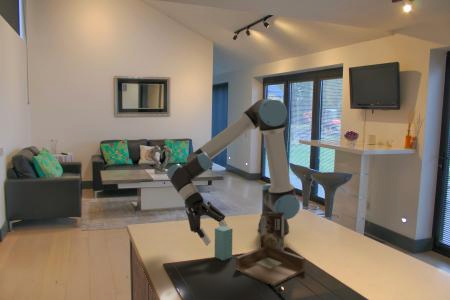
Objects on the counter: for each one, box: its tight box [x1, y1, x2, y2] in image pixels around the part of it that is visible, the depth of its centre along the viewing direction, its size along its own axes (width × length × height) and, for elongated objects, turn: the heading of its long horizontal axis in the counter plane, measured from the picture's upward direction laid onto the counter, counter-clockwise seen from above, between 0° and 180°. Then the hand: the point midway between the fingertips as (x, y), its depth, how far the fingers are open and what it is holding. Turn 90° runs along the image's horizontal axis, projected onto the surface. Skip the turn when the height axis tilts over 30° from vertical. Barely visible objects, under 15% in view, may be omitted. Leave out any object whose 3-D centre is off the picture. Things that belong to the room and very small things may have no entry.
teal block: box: [214, 226, 233, 261], centre depth 154 cm, size 5×5×12 cm
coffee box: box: [260, 211, 285, 251], centre depth 161 cm, size 9×6×16 cm
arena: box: [235, 245, 306, 286], centre depth 142 cm, size 18×18×5 cm
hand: (219, 238), depth 154 cm, fingers open, 13 cm apart
